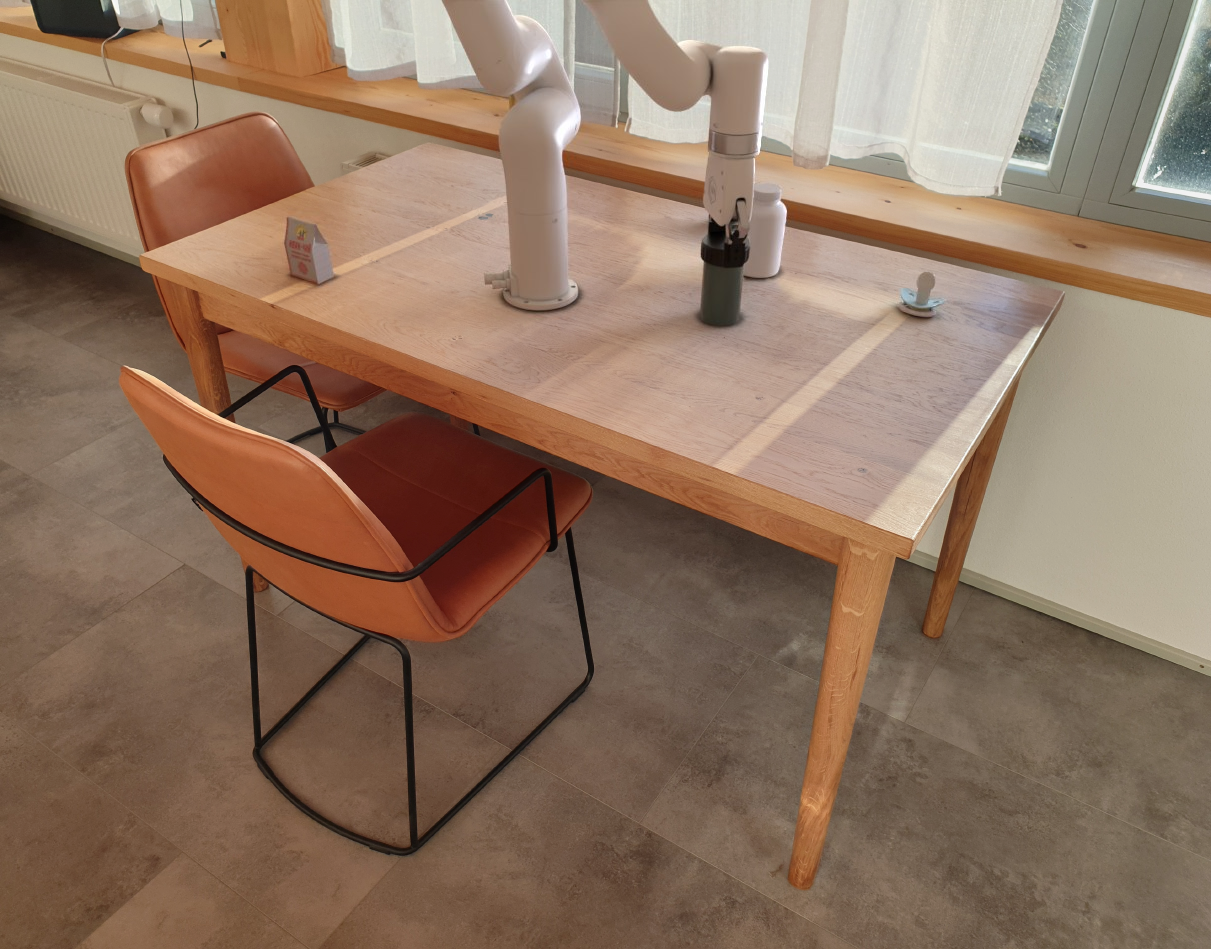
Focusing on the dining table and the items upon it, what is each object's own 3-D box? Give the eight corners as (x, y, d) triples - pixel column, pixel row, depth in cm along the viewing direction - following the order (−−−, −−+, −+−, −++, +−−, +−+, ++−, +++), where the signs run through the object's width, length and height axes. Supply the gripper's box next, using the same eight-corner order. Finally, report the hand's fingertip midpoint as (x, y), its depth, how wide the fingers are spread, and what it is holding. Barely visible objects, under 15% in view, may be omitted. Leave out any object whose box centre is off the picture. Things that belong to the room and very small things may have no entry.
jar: (704, 327, 149) (710, 253, 141) (695, 309, 154) (700, 237, 146) (743, 324, 149) (751, 251, 142) (733, 307, 155) (740, 235, 147)
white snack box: (306, 268, 166) (295, 213, 161) (334, 276, 164) (324, 221, 158) (290, 275, 164) (279, 220, 158) (318, 284, 161) (307, 228, 155)
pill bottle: (778, 281, 163) (788, 196, 154) (732, 277, 164) (739, 193, 155) (780, 263, 169) (790, 180, 160) (736, 259, 170) (743, 177, 161)
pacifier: (931, 323, 150) (946, 309, 154) (939, 288, 146) (954, 274, 150) (889, 310, 154) (904, 297, 158) (895, 276, 150) (911, 262, 154)
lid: (708, 269, 142) (709, 251, 140) (694, 250, 148) (695, 233, 146) (755, 265, 143) (756, 248, 142) (739, 246, 149) (741, 229, 148)
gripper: (692, 125, 141) (686, 237, 152) (727, 161, 128) (717, 281, 138) (740, 122, 143) (730, 233, 153) (779, 158, 129) (766, 277, 139)
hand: (724, 255), depth 145 cm, fingers closed on lid, 7 cm apart
